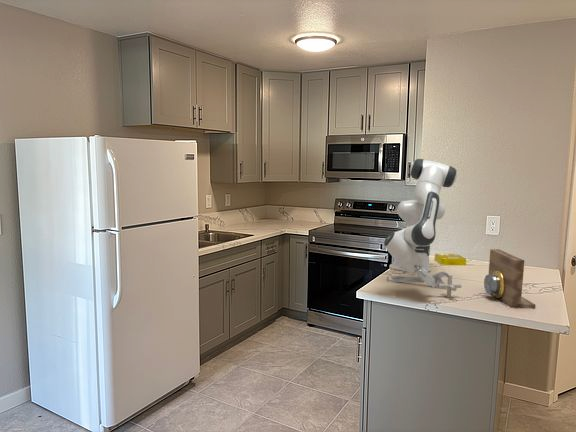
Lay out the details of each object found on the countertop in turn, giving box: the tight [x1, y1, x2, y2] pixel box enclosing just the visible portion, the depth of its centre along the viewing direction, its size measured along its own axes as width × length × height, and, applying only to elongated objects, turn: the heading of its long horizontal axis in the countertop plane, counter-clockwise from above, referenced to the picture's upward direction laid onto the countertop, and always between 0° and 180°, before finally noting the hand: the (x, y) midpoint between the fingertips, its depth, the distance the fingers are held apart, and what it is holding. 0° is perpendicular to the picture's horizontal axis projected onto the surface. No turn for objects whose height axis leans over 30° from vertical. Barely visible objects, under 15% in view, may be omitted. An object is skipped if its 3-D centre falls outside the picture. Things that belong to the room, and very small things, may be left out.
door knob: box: [483, 271, 505, 299], centre depth 194 cm, size 5×12×12 cm, turn 177°
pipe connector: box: [437, 273, 462, 298], centre depth 194 cm, size 10×10×10 cm
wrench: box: [386, 270, 450, 289], centre depth 214 cm, size 8×2×30 cm
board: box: [487, 248, 536, 309], centre depth 193 cm, size 10×24×20 cm, turn 177°
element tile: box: [434, 252, 467, 266], centre depth 268 cm, size 15×15×5 cm
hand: (433, 285), depth 195 cm, fingers closed
